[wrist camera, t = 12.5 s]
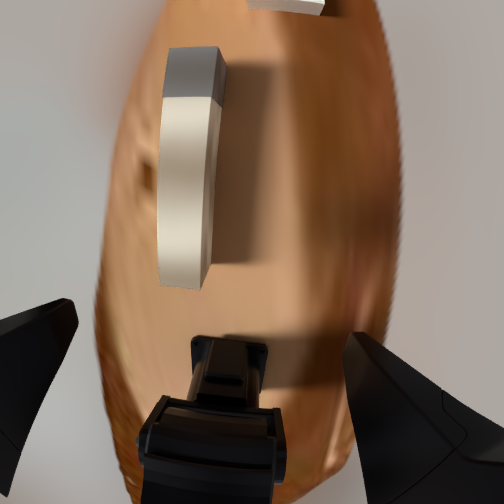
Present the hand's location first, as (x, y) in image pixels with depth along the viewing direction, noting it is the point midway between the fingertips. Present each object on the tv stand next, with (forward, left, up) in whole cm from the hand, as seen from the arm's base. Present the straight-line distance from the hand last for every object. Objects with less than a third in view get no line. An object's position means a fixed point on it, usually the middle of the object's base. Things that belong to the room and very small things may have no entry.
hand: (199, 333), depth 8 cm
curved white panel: (+4, +3, -12) cm, 13 cm away
